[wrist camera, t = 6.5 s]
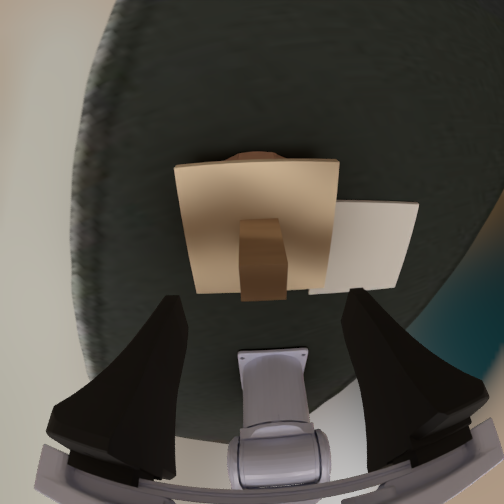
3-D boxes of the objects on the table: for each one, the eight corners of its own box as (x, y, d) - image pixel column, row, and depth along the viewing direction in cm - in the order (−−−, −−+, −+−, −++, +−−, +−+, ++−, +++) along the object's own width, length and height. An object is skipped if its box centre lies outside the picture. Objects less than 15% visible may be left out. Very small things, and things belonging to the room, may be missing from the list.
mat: (392, 284, 24) (394, 287, 24) (307, 291, 24) (308, 294, 24) (416, 202, 19) (419, 204, 19) (317, 199, 19) (319, 202, 19)
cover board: (322, 282, 19) (339, 335, 15) (198, 287, 19) (188, 343, 15) (336, 159, 14) (371, 191, 10) (176, 165, 14) (148, 199, 10)
